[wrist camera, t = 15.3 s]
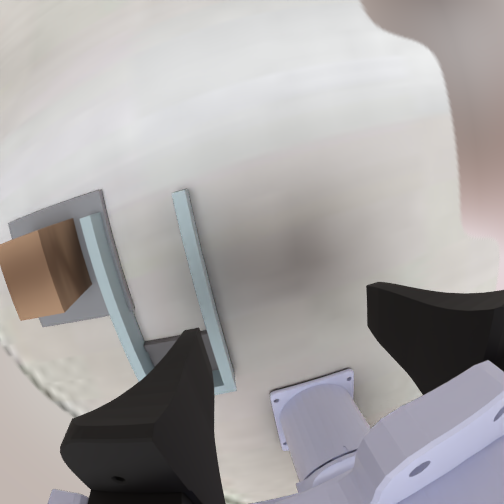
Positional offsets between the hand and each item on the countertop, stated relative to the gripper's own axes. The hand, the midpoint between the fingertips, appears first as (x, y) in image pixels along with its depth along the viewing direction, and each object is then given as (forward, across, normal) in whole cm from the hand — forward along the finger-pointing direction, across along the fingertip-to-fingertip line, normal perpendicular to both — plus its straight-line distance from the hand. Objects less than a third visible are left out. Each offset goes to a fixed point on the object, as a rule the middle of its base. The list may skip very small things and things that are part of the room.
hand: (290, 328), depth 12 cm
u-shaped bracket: (+10, +7, +2) cm, 12 cm away
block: (+9, +14, -4) cm, 17 cm away
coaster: (+10, +14, -3) cm, 17 cm away
